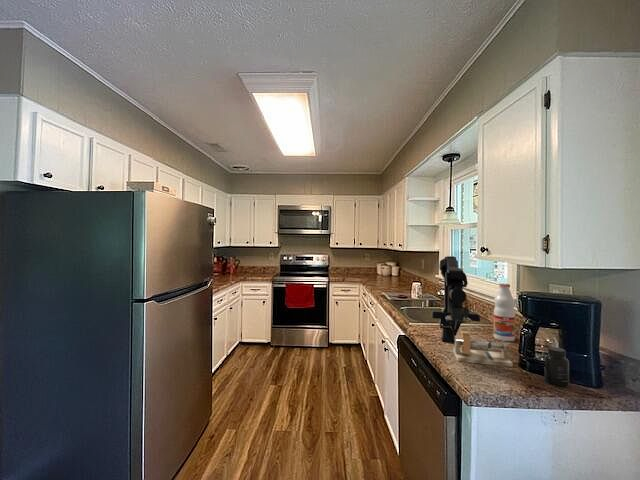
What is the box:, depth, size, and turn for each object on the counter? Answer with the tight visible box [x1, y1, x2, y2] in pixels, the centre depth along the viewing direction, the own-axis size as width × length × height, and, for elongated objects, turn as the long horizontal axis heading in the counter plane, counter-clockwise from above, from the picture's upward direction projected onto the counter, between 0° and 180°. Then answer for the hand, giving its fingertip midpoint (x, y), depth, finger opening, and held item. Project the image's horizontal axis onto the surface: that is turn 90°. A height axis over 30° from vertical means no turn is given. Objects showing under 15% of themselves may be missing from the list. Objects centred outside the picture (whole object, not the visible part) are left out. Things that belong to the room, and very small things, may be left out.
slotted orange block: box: [460, 330, 471, 354], centre depth 132 cm, size 2×7×8 cm, turn 165°
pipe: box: [454, 338, 509, 350], centre depth 131 cm, size 20×3×3 cm, turn 75°
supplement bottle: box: [543, 346, 570, 388], centre depth 108 cm, size 7×7×12 cm
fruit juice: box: [493, 283, 516, 342], centre depth 159 cm, size 9×9×28 cm
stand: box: [452, 337, 513, 368], centre depth 131 cm, size 20×12×7 cm, turn 75°
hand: (454, 335), depth 133 cm, fingers closed
